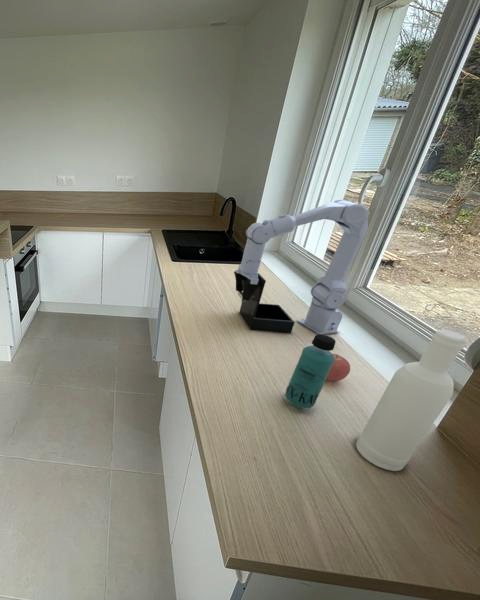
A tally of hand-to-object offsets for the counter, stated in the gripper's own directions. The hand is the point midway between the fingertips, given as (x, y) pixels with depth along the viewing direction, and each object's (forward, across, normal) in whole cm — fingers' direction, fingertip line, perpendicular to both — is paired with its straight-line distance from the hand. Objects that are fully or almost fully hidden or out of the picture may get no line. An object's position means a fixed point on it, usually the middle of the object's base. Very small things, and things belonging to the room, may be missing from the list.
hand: (242, 295), depth 115 cm
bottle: (+11, +56, +13) cm, 59 cm away
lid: (-2, 0, +4) cm, 4 cm away
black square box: (+10, 0, +10) cm, 14 cm away
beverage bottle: (+11, +43, +3) cm, 45 cm away
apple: (+11, +31, +16) cm, 36 cm away
